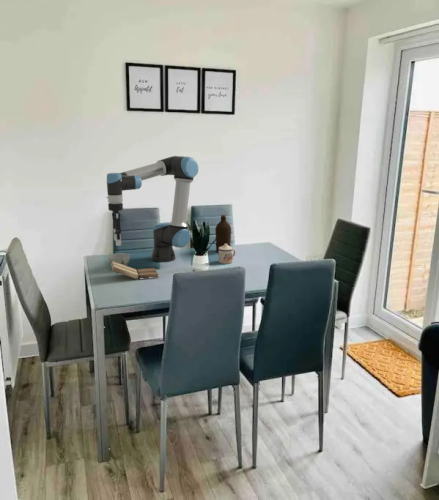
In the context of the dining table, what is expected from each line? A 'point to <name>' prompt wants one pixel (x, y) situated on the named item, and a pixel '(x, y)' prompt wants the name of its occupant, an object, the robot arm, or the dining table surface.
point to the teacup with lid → (226, 254)
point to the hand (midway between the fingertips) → (117, 242)
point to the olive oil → (222, 233)
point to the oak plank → (124, 270)
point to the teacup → (120, 258)
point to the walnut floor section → (147, 272)
